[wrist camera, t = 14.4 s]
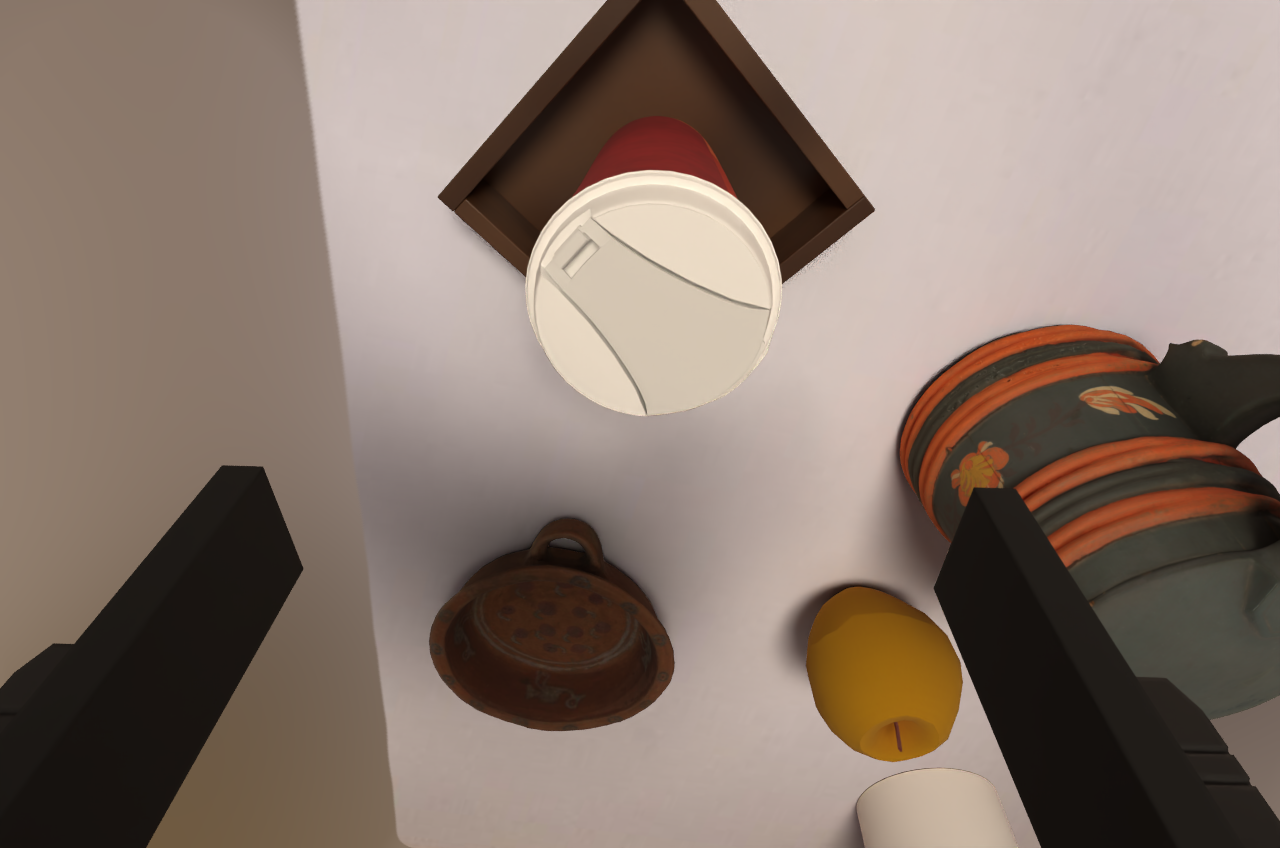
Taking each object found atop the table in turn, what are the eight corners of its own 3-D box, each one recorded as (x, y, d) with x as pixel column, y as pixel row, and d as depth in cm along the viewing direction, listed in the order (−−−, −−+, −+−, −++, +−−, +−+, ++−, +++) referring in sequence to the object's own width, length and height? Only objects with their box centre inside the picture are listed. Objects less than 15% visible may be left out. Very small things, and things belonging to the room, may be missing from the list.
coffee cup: (537, 184, 33) (464, 325, 21) (653, 44, 30) (645, 116, 17) (661, 293, 36) (660, 471, 24) (779, 179, 33) (848, 319, 21)
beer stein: (1028, 209, 34) (1367, 455, 18) (1274, 286, 36) (1785, 572, 20) (857, 487, 45) (970, 801, 28) (1054, 535, 47) (1266, 854, 30)
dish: (704, 521, 47) (708, 577, 43) (645, 703, 59) (644, 759, 55) (448, 482, 45) (427, 535, 41) (444, 677, 58) (427, 732, 54)
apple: (943, 557, 48) (1013, 710, 39) (908, 644, 54) (961, 796, 44) (805, 552, 48) (840, 703, 39) (784, 639, 54) (810, 790, 44)
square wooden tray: (459, 172, 34) (436, 197, 30) (664, -66, 28) (665, -67, 25) (650, 351, 39) (649, 389, 36) (854, 184, 33) (876, 210, 30)
